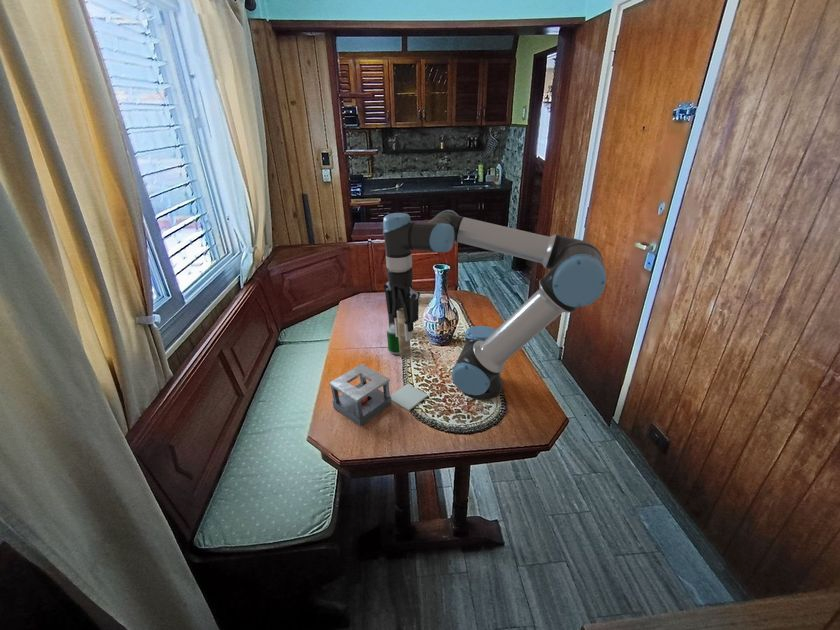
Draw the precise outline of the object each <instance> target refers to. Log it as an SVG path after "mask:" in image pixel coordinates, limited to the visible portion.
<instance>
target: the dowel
mask: <svg viewBox="0 0 840 630" xmlns="http://www.w3.org/2000/svg"><path fill="white" fill-rule="evenodd" d="M404 322H406V319H405V314H404V309H403V308H400V309H398V310H397V323H398V336H399V350H400V355H399V356H400V357H401V358H409V357H411V356H412V351H411V339H410V340H409V341H405V329H404Z"/></svg>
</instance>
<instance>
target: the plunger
mask: <svg viewBox="0 0 840 630" xmlns="http://www.w3.org/2000/svg"><path fill="white" fill-rule="evenodd" d="M367 401H368V396H367V397H365V398H364V399H362V400H361V405H363V404H364V403H366V402H367Z"/></svg>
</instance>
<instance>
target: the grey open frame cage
mask: <svg viewBox="0 0 840 630" xmlns="http://www.w3.org/2000/svg"><path fill="white" fill-rule="evenodd" d="M358 378H359V380H360V381H359V382H360V383H359V384H357V385H355V386H354V385H353V384H351V382H353V381H354V380H356V379H358ZM367 380H368V382H367ZM390 381H391V380H390V378H388V377H387V376H386V375H383V374H382V373H380V372H378V371H376V370H374V369H372V368H370V367H369V366H368V365H365V364H364V363H360V364H359V365H357V366H355V367H354V368H351V369H350V370H348V371H346V372H345V373H343V374H342V375H340V376H337V378H335V379H333V380H332V381H330V382H329V383H328V384H329V386H330V387H331V393H332V401H331V402H332V408H333V409H335V410H336V411H338V412H339V413H340V414H341V415H343V416H345V417H346V418H348V419H349V420H351V421H352V422H353V423H354V424H356V425H358V426H359V427H362V426H363V425H364V424H367V422H369V421H370V420H371V419H373V418H374V417H376V416H378V414H380V413H382V412H383V411H384V410H386V409H387V408H388V407H390V406H391V405H392V404H393V401H392V400H391V396H390V395H391V394H390V383H389V382H390ZM380 388H382V390H383V391H381V390H380ZM339 393H341V395H339ZM367 396H368V401H367V402H366V403H364V404H363V405H361V400H362V399H364V398H365V397H367Z"/></svg>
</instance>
